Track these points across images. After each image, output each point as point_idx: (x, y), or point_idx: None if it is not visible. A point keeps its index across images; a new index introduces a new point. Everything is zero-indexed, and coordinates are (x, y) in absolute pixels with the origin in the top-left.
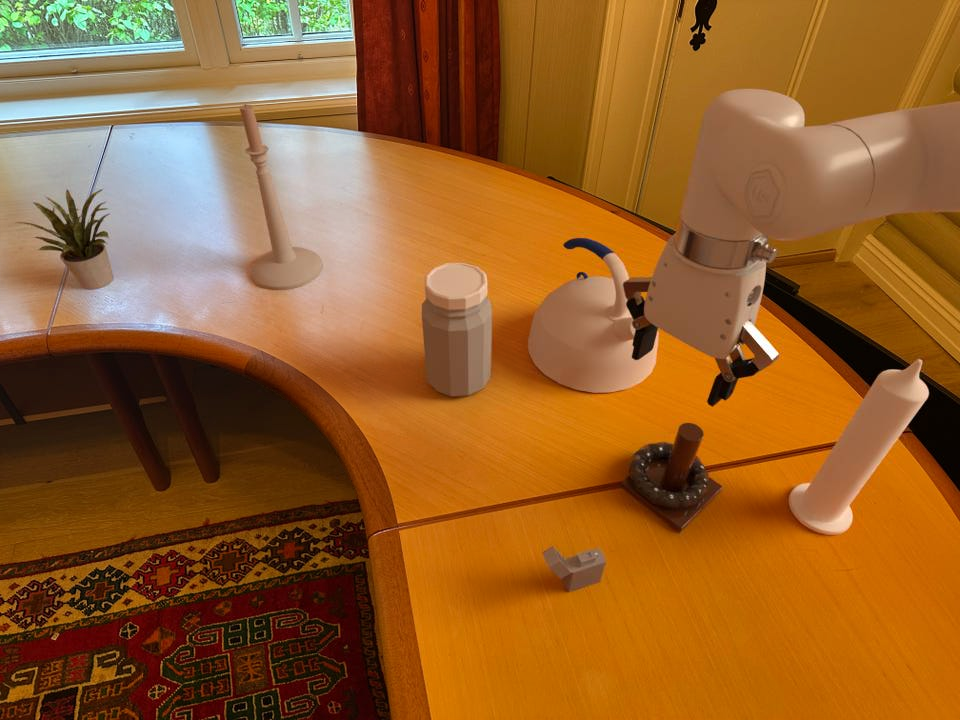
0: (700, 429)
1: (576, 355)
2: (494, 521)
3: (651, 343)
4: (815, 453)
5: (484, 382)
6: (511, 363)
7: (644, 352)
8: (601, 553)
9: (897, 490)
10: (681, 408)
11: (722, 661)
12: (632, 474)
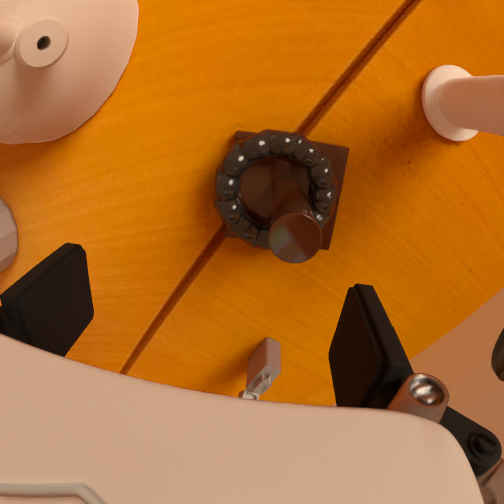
0: (309, 221)
1: (29, 129)
2: (157, 350)
3: (68, 281)
4: (418, 7)
5: (10, 228)
6: (5, 159)
7: (83, 296)
8: (271, 368)
9: (498, 30)
10: (217, 32)
11: (403, 333)
12: (233, 234)
